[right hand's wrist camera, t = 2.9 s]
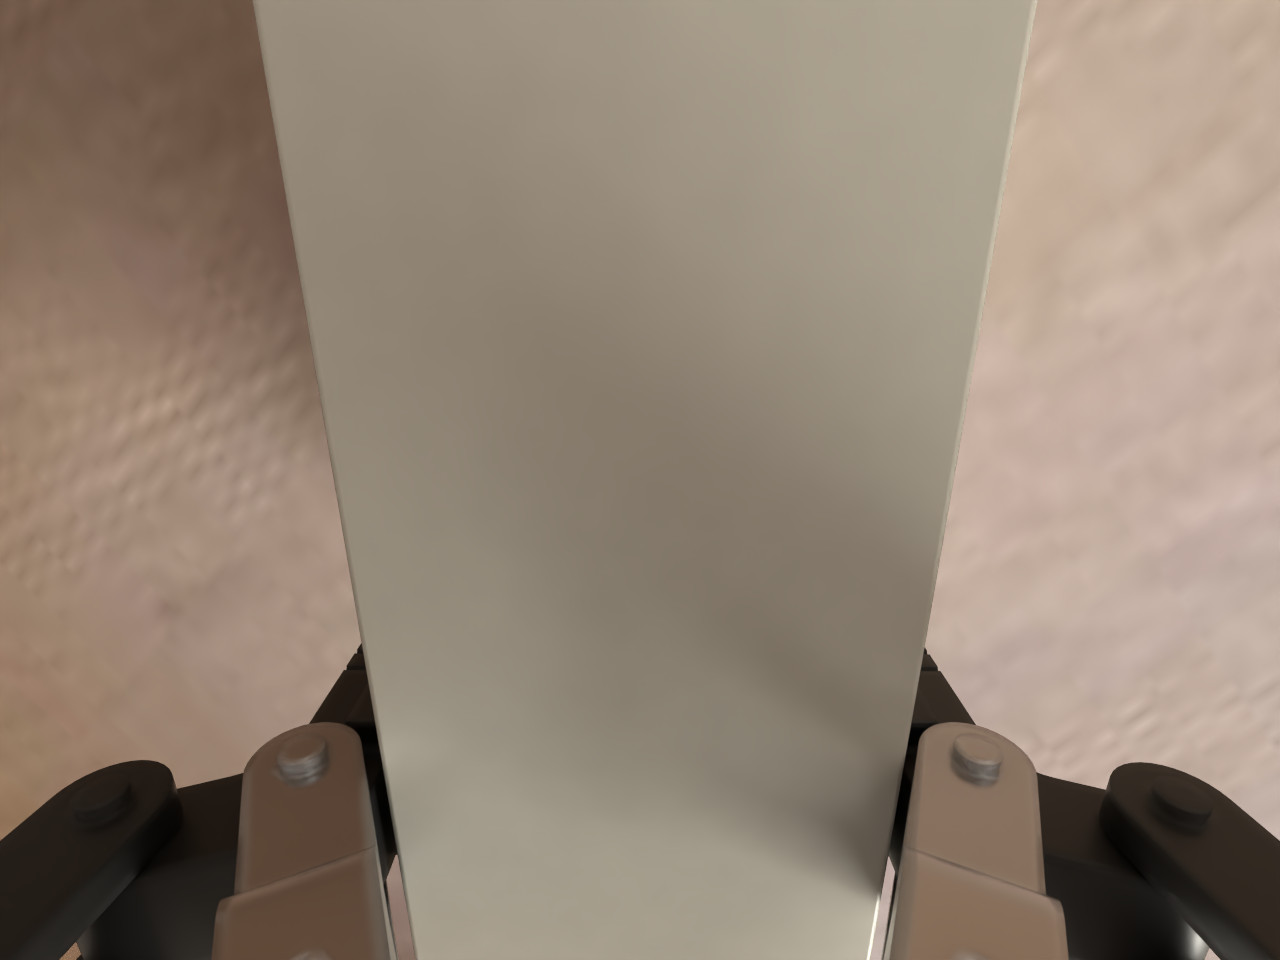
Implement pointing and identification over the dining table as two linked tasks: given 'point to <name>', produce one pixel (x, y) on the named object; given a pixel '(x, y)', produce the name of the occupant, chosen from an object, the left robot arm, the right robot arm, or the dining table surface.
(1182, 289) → the dining table surface
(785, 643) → the box
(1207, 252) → the dining table surface
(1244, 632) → the dining table surface
